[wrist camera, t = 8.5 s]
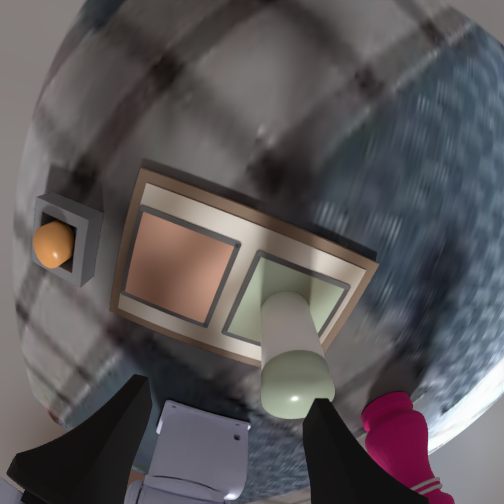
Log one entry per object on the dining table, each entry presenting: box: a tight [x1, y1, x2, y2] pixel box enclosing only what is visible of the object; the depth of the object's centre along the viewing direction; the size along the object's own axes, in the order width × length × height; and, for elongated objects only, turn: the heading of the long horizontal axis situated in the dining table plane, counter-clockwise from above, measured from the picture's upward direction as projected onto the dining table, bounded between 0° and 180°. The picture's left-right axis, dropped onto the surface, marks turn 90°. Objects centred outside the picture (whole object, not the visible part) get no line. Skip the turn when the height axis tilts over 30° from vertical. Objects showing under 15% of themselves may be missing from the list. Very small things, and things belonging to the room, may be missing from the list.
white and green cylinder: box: [260, 291, 335, 419], centre depth 16 cm, size 4×4×8 cm
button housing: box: [32, 192, 104, 288], centre depth 18 cm, size 6×6×2 cm
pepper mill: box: [361, 391, 455, 504], centre depth 16 cm, size 7×7×20 cm
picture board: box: [109, 167, 379, 368], centre depth 20 cm, size 18×12×1 cm, turn 68°
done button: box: [33, 220, 75, 269], centre depth 16 cm, size 3×3×2 cm
